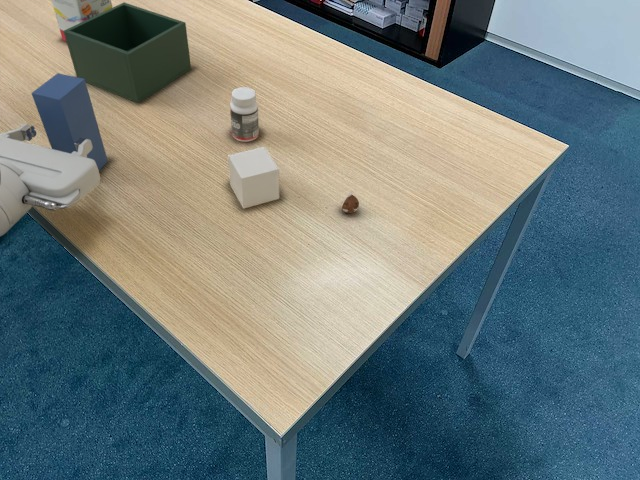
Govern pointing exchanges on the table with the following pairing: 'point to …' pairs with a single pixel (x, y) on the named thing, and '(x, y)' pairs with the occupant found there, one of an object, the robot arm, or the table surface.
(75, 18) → the ink box
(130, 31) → the waste bin
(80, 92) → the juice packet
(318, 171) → the table surface
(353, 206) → the chocolate
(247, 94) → the pill bottle
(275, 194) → the white cube
